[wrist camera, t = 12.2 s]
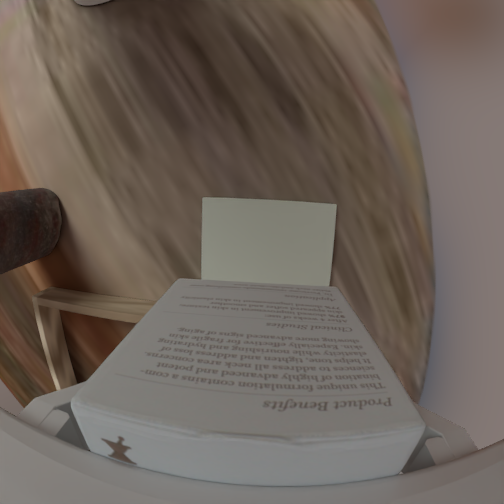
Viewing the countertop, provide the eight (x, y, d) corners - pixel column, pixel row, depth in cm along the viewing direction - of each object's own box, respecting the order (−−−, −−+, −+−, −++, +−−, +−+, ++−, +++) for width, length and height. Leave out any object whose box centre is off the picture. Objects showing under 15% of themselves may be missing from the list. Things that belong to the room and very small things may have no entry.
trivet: (204, 197, 24) (202, 197, 24) (335, 203, 24) (336, 204, 23) (203, 318, 27) (202, 321, 26) (322, 325, 26) (323, 328, 25)
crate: (50, 286, 27) (31, 296, 24) (195, 305, 26) (185, 320, 23) (77, 395, 30) (64, 410, 27) (202, 424, 29) (196, 445, 26)
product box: (183, 398, 12) (132, 531, 5) (177, 272, 11) (56, 393, 4) (317, 409, 12) (340, 549, 5) (343, 284, 10) (438, 425, 3)
